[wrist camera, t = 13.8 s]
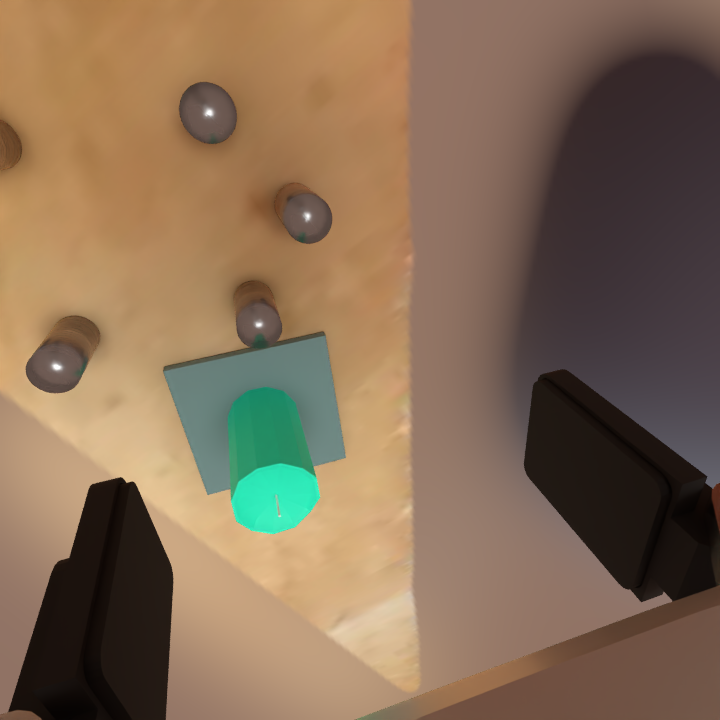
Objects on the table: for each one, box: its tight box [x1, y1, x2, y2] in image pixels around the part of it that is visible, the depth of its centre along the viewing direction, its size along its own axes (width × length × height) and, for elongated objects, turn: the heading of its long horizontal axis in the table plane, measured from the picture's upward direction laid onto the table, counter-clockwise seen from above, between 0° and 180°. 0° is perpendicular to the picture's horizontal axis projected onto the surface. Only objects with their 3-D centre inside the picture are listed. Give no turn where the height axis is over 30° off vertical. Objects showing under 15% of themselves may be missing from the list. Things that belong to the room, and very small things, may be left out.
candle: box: [228, 387, 320, 534], centre depth 36 cm, size 6×6×12 cm
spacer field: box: [0, 82, 332, 393], centre depth 31 cm, size 16×25×6 cm, turn 98°
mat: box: [163, 332, 346, 495], centre depth 42 cm, size 13×13×1 cm
